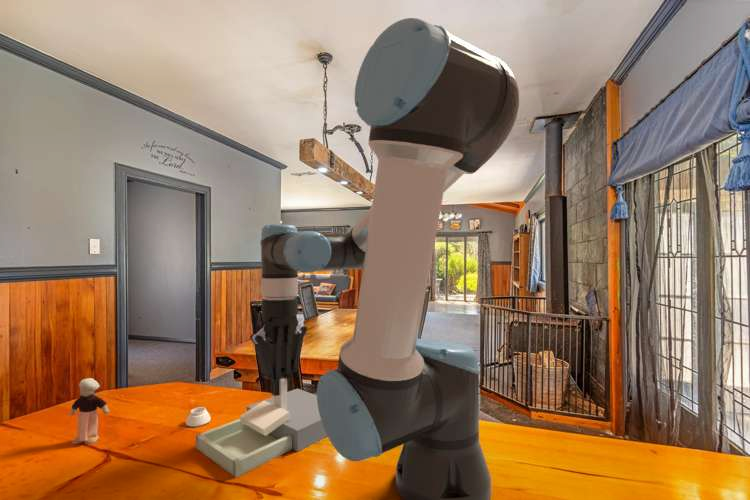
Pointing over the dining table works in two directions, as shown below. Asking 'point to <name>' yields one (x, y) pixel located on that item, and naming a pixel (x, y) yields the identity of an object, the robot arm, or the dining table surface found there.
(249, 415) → the card
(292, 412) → the grey drawer casing
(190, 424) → the white jar
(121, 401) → the dining table surface
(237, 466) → the tray
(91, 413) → the grandmother figurine
